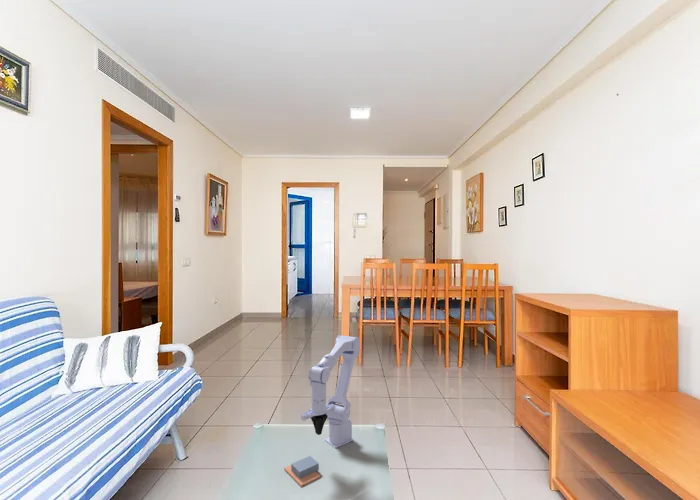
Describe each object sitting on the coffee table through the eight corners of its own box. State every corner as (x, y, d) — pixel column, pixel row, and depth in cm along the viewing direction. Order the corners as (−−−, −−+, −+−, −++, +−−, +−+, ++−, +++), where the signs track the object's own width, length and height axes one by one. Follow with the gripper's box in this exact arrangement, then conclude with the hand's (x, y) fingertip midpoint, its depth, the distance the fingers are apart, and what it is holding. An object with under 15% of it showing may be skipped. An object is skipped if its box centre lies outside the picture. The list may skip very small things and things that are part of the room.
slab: (310, 455, 136) (291, 463, 131) (318, 463, 131) (299, 472, 127) (310, 462, 136) (291, 470, 131) (318, 470, 132) (299, 479, 127)
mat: (302, 461, 138) (302, 459, 138) (320, 477, 128) (320, 475, 128) (284, 469, 133) (284, 468, 133) (300, 486, 124) (300, 485, 124)
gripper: (328, 390, 146) (328, 423, 146) (296, 399, 137) (296, 435, 137) (338, 396, 140) (338, 430, 140) (306, 405, 131) (306, 443, 131)
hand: (318, 433), depth 138 cm, fingers closed
